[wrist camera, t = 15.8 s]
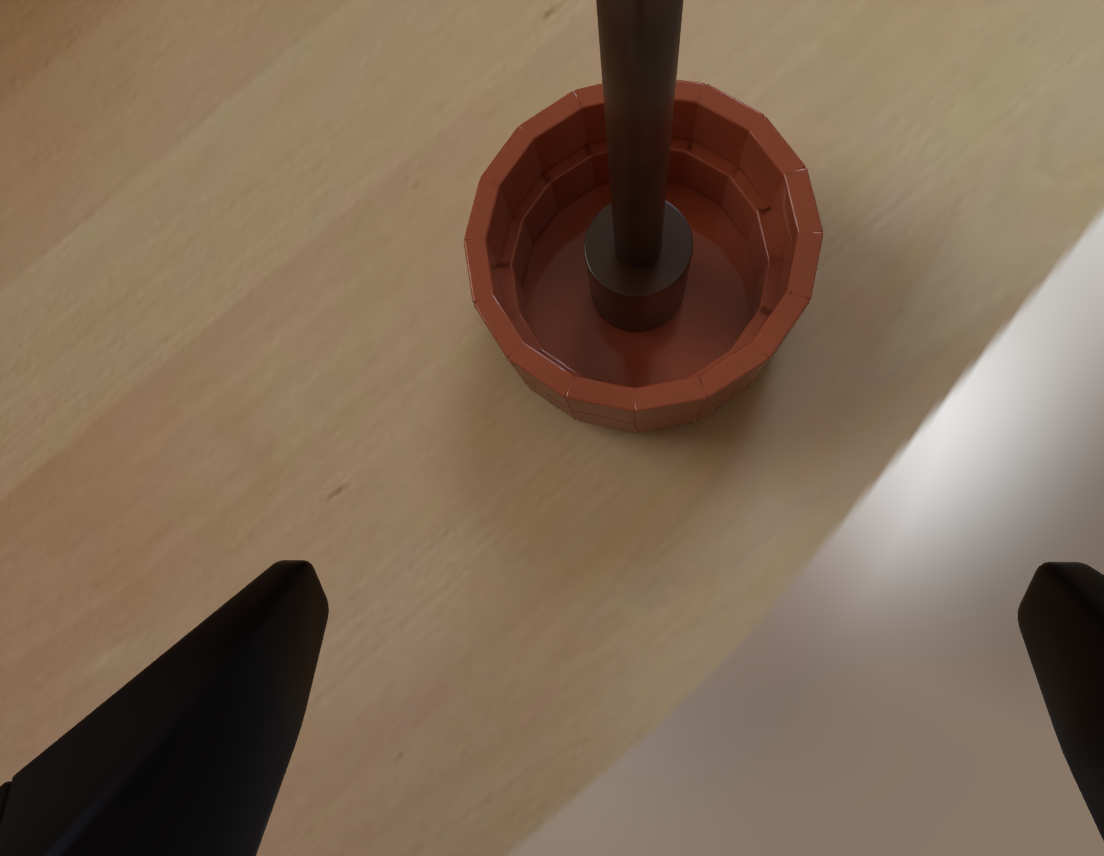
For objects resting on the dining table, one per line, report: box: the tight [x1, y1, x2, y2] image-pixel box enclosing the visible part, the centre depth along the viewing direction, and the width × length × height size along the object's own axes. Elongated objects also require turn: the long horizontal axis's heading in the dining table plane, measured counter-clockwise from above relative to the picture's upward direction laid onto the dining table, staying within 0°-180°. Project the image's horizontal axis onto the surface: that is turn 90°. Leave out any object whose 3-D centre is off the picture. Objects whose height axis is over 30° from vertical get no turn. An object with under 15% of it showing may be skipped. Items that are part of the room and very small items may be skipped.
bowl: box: [464, 80, 823, 432], centre depth 19 cm, size 9×9×4 cm
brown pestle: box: [584, 0, 693, 331], centre depth 12 cm, size 3×3×16 cm
